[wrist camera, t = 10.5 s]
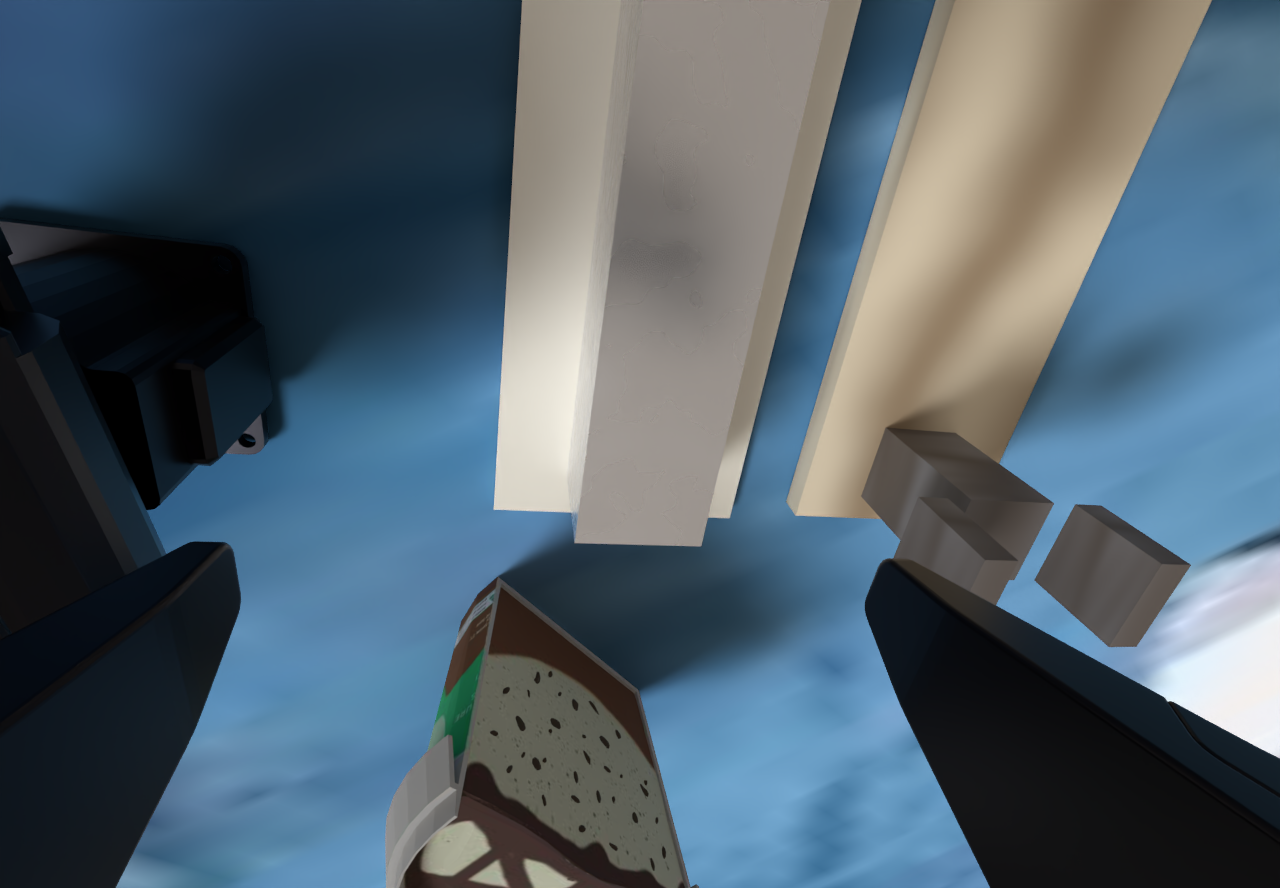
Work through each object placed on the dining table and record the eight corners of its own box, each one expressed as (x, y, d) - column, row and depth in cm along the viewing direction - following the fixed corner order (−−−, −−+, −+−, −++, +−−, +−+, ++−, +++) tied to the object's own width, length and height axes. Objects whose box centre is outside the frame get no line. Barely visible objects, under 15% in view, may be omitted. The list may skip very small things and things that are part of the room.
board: (494, 500, 23) (493, 509, 22) (561, -686, 11) (562, -726, 11) (725, 509, 25) (729, 518, 24) (976, -500, 13) (995, -525, 13)
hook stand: (786, 501, 25) (906, 675, 17) (1062, -424, 14) (1739, -1114, 6) (957, 509, 27) (1138, 671, 19) (1320, -311, 16) (2108, -743, 8)
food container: (356, 641, 25) (264, 926, 16) (470, 554, 24) (439, 807, 15) (558, 771, 30) (572, 1034, 22) (657, 705, 29) (714, 953, 21)
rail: (566, 476, 22) (574, 543, 19) (682, -538, 12) (746, -808, 9) (674, 481, 23) (701, 546, 19) (864, -461, 13) (990, -679, 9)
